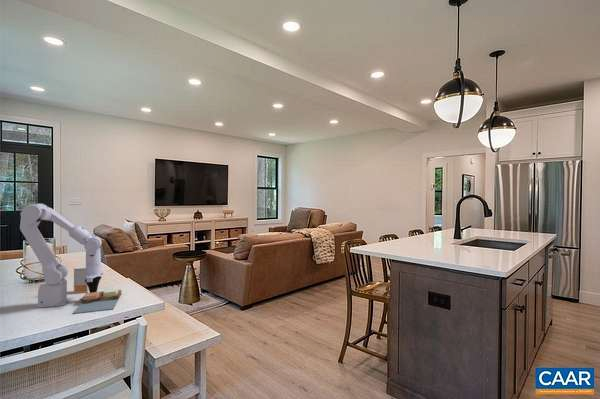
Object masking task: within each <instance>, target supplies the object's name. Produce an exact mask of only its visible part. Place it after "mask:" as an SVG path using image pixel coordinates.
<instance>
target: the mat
mask: <svg viewBox="0 0 600 399" xmlns="http://www.w3.org/2000/svg"><path fill="white" fill-rule="evenodd" d="M118 302H119V300H118V299H117V300H107V301H97V302H87V303H81V302H80V304H79V305H78V306H77V308H75V310H74V311H73V312H72V315H76V314H85V313H93V312H95V313H96V312H102V311H111V310H112V311H113V310H114V309H115V307H116V305H117V304H118Z"/></svg>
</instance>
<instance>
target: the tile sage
mask: <svg viewBox="0 0 600 399" xmlns="http://www.w3.org/2000/svg"><path fill="white" fill-rule="evenodd" d="M118 290H119V288H118V287H117V288H108V289H105V290H104V293H103V296H110V295H117V293H118Z"/></svg>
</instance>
